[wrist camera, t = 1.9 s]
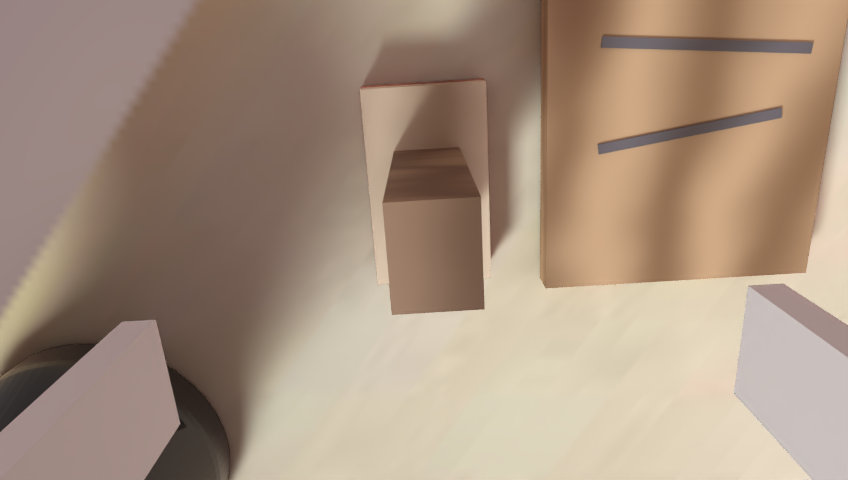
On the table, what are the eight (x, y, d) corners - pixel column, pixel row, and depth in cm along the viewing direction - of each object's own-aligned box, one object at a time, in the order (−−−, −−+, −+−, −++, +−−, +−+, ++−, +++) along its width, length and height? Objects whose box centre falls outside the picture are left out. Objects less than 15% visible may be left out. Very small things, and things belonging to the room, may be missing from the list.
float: (379, 271, 32) (358, 392, 21) (362, 86, 29) (326, 109, 17) (487, 264, 32) (526, 383, 21) (482, 78, 29) (525, 97, 17)
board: (540, 277, 32) (546, 288, 31) (542, -183, 25) (550, -198, 24) (788, 262, 32) (806, 273, 30) (860, -204, 25) (889, -220, 23)
